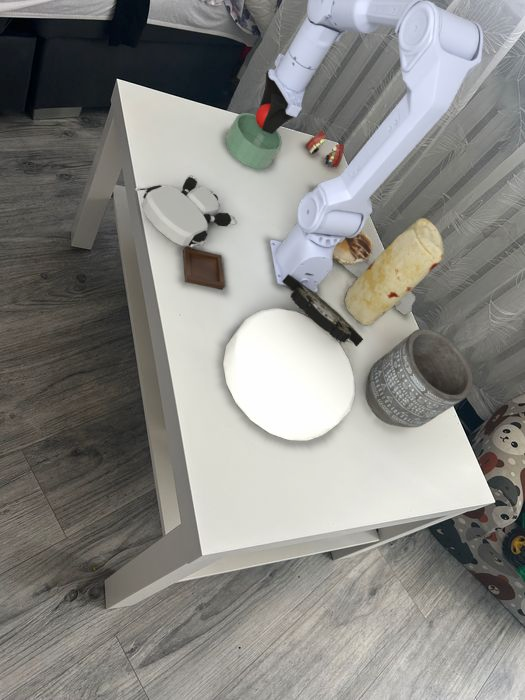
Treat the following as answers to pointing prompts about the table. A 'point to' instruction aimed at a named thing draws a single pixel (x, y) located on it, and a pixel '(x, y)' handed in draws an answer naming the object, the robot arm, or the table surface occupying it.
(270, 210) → the table surface
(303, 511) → the table surface
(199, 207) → the robot toy
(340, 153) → the dentures model
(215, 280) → the coaster
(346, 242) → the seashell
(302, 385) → the container
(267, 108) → the apple
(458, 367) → the planter
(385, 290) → the food model
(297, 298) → the emblem
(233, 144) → the bowl
